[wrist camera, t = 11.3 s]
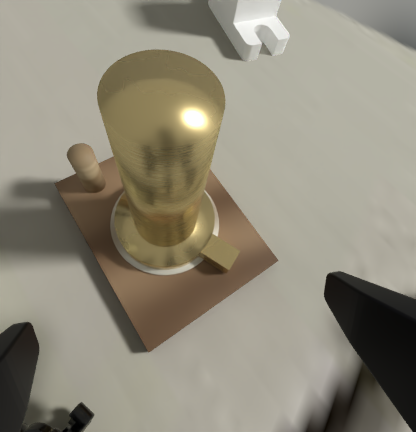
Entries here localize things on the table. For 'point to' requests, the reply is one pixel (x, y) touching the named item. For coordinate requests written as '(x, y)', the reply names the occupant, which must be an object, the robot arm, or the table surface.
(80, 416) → the valve
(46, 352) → the table surface
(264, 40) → the white phone stand
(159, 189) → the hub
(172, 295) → the base plate
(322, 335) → the table surface
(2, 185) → the table surface
